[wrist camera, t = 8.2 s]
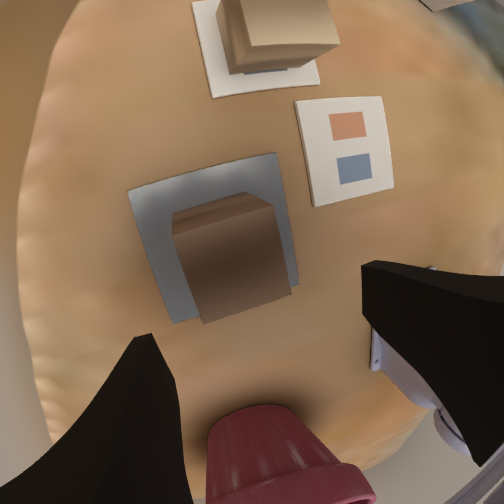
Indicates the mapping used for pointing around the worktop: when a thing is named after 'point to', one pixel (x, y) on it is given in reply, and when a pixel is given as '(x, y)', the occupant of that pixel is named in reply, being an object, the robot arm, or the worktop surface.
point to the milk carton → (442, 3)
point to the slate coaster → (196, 193)
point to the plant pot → (277, 463)
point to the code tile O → (242, 82)
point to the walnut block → (231, 255)
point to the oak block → (274, 33)
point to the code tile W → (344, 147)
